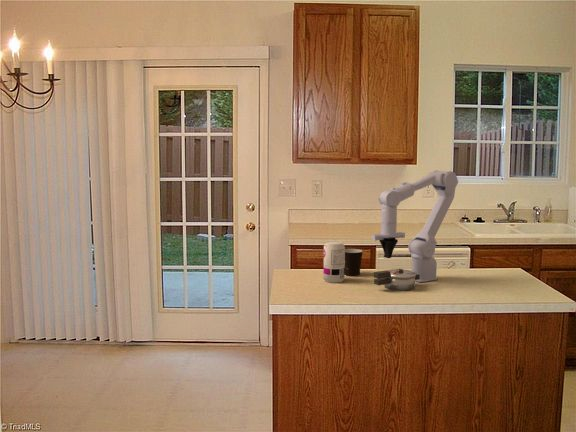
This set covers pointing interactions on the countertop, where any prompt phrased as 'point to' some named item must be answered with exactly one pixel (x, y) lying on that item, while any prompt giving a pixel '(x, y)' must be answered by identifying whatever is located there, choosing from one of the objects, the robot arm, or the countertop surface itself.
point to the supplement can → (334, 262)
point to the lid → (394, 274)
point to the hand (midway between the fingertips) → (388, 257)
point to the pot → (398, 283)
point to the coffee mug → (353, 262)
